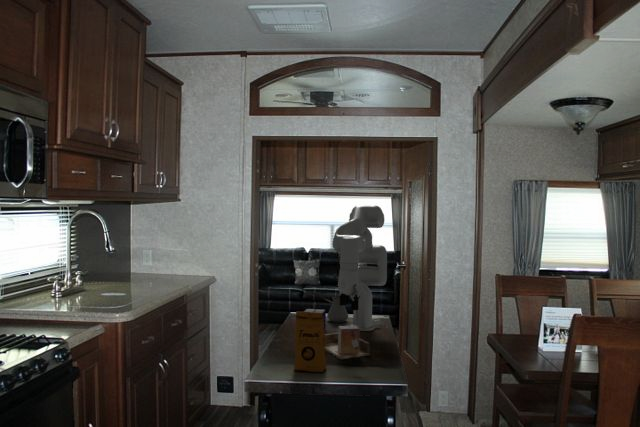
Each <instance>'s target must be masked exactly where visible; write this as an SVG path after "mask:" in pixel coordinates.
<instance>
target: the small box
mask: <svg viewBox="0 0 640 427" xmlns="http://www.w3.org/2000/svg"><path fill="white" fill-rule="evenodd" d="M337 327H338V329H337V333H338V351H339V352H340V354H359V338H360V331H359V328H358V327H357V326H350V325H339V326H337Z"/></svg>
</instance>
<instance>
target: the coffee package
mask: <svg viewBox="0 0 640 427" xmlns="http://www.w3.org/2000/svg"><path fill="white" fill-rule="evenodd" d="M325 330H326V329H325ZM325 330H324V317H323V313H319V312H304V311H296V312H295V328H294V354H295V355H294V356H295V358H294V364H293V367H294V368H293V369H294V371H301V372H310V373H320V372H323V373H324V371H325V370H326V369H327V353H328V352H327V351H326V350H325V334H326V331H325ZM324 369H325V370H324Z"/></svg>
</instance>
